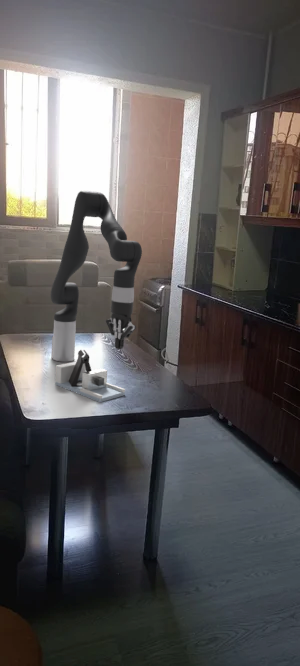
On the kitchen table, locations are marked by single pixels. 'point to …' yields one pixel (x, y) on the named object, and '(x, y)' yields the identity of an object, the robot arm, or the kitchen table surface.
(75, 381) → the phone stand
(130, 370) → the kitchen table surface
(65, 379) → the vise body
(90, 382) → the block
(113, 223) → the robot arm
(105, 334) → the kitchen table surface
